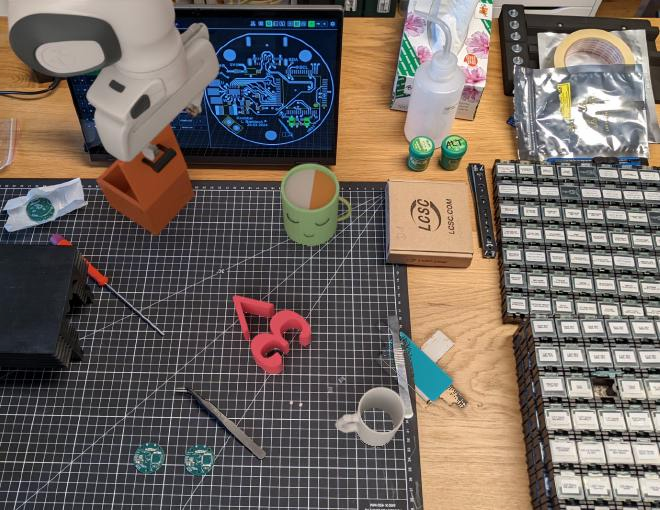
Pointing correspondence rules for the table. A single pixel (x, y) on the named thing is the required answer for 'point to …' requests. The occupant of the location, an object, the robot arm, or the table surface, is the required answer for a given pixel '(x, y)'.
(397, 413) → the mug
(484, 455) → the table surface
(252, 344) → the red number figure
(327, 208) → the mug
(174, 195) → the parts case
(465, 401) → the phone stand
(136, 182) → the case lid
